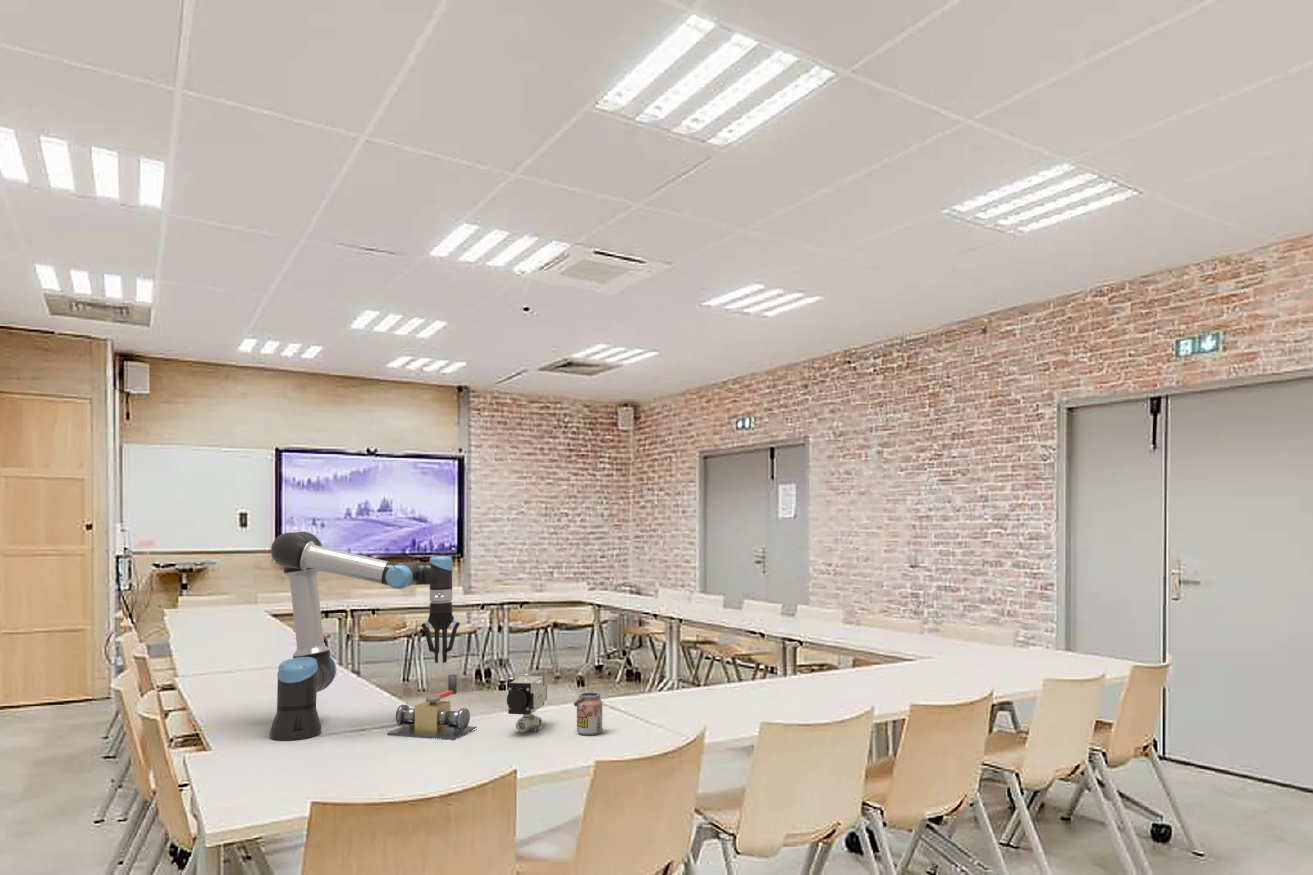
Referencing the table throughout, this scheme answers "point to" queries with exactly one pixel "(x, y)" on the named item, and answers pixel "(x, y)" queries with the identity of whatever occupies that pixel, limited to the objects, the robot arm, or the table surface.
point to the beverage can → (589, 714)
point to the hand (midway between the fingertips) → (440, 672)
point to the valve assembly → (432, 721)
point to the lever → (451, 690)
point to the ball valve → (527, 701)
